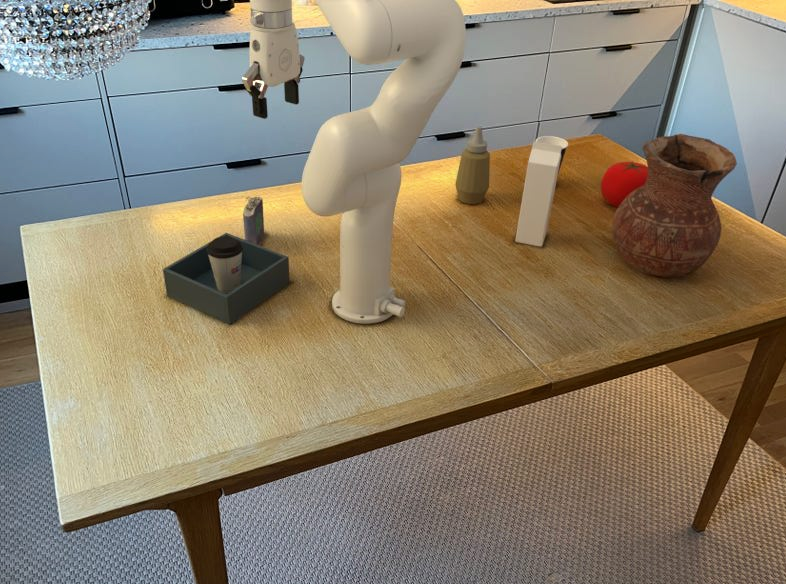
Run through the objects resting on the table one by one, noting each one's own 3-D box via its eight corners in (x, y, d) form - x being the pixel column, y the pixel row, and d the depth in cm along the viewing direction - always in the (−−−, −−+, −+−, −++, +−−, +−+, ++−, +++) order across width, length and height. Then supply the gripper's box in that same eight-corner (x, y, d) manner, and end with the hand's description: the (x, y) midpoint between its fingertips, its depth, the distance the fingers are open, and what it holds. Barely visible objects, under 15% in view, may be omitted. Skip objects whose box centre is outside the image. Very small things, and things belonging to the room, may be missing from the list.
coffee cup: (205, 293, 148) (199, 248, 142) (219, 275, 154) (214, 231, 147) (238, 298, 147) (234, 253, 141) (251, 280, 152) (247, 236, 146)
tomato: (595, 210, 181) (605, 169, 174) (598, 190, 190) (608, 150, 183) (647, 218, 178) (659, 177, 172) (648, 197, 187) (659, 157, 181)
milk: (541, 247, 167) (560, 152, 153) (514, 242, 168) (530, 147, 154) (546, 234, 171) (564, 140, 157) (519, 229, 173) (535, 136, 159)
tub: (289, 283, 153) (288, 256, 149) (229, 324, 141) (226, 297, 137) (228, 258, 160) (226, 232, 156) (166, 295, 148) (162, 269, 144)
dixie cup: (527, 176, 195) (534, 134, 188) (558, 178, 195) (566, 136, 188) (529, 189, 189) (536, 147, 182) (561, 191, 189) (570, 149, 182)
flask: (255, 254, 161) (252, 208, 155) (242, 252, 162) (238, 207, 155) (266, 233, 169) (263, 188, 162) (253, 232, 169) (250, 187, 162)
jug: (723, 290, 155) (765, 175, 139) (620, 288, 154) (652, 173, 139) (686, 236, 172) (720, 129, 157) (594, 234, 172) (619, 127, 156)
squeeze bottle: (448, 194, 186) (455, 122, 175) (479, 190, 188) (487, 119, 177) (461, 208, 180) (469, 135, 169) (492, 204, 182) (502, 132, 171)
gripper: (256, 31, 132) (262, 127, 143) (316, 11, 144) (318, 101, 154) (224, 24, 136) (232, 118, 146) (285, 5, 147) (289, 93, 158)
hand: (276, 109), depth 150 cm, fingers open, 9 cm apart
